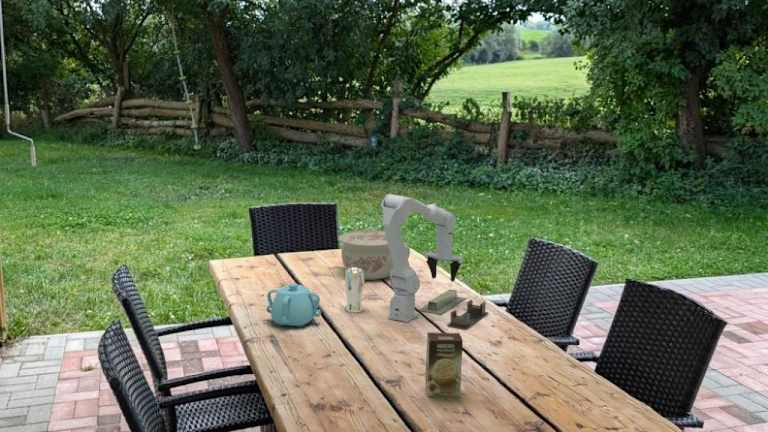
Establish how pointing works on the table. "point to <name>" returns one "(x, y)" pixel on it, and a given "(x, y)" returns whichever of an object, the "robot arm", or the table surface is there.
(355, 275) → the beer glass
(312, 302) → the decorative pot
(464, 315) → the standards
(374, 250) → the chamber pot
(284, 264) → the table surface
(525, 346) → the table surface
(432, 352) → the coffee box
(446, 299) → the rail
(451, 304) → the pad
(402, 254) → the robot arm
